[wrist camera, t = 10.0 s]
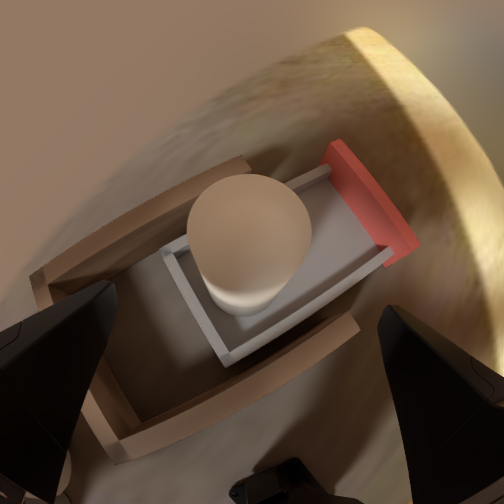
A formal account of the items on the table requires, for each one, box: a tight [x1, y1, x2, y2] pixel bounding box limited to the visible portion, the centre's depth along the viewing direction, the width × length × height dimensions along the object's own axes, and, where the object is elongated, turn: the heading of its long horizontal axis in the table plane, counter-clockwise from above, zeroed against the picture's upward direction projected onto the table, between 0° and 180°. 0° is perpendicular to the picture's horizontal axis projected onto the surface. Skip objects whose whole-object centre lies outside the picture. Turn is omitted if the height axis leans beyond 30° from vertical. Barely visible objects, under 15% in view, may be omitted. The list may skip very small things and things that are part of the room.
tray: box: [159, 139, 421, 368], centre depth 21 cm, size 11×17×4 cm, turn 121°
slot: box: [29, 155, 361, 465], centre depth 19 cm, size 15×18×5 cm
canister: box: [187, 174, 312, 317], centre depth 16 cm, size 5×5×10 cm
